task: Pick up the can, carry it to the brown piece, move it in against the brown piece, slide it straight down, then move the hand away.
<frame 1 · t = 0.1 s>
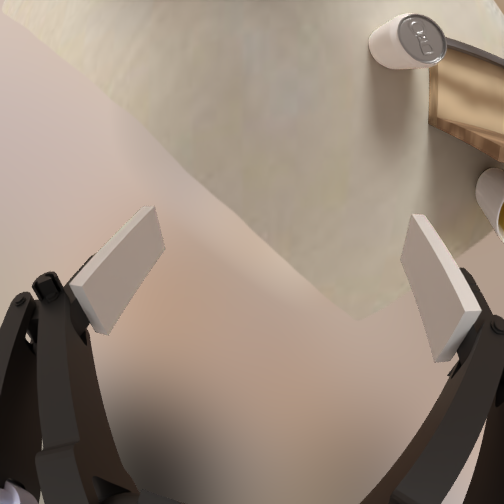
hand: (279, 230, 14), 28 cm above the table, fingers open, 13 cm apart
can: (389, 48, 27), on the table
mug: (490, 193, 34), on the table
brown piece: (486, 97, 26), on the table
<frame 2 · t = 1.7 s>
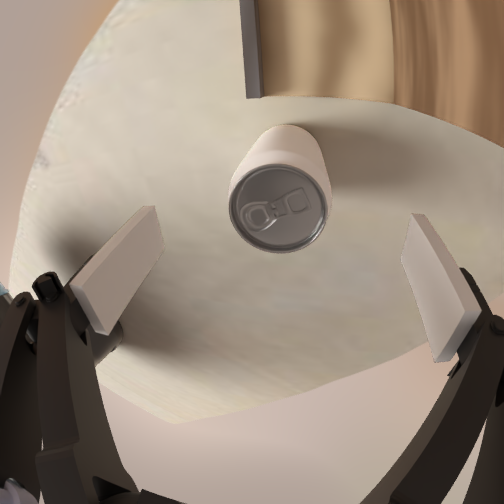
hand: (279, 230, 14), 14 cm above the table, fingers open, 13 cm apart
can: (287, 156, 26), on the table
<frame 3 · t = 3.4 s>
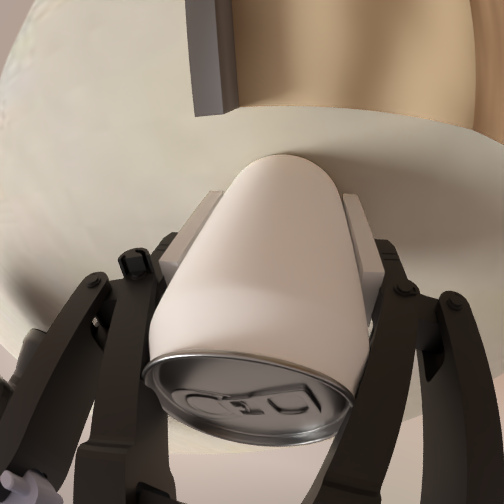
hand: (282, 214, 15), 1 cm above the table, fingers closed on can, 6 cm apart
can: (284, 205, 16), on the table, touching gripper
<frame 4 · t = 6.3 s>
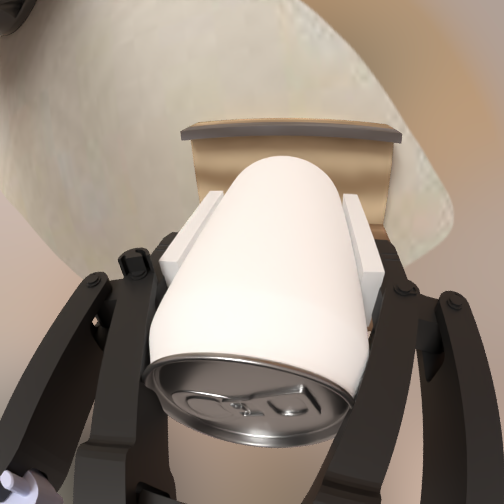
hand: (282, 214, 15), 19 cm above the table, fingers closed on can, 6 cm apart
can: (284, 206, 16), point 18 cm above the table, touching gripper
brown piece: (293, 171, 33), on the table
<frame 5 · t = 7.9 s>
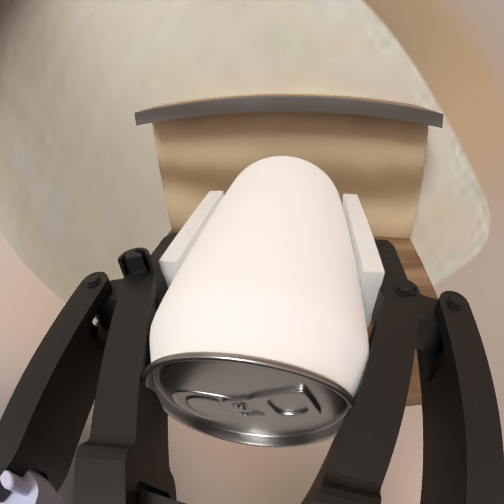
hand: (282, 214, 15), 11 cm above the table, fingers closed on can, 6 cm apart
can: (284, 206, 16), point 9 cm above the table, touching gripper
brown piece: (291, 166, 24), on the table
when the fingers open (6 cm above the table, at t = 9.2 s): can drops 2 cm, resting on brown piece.
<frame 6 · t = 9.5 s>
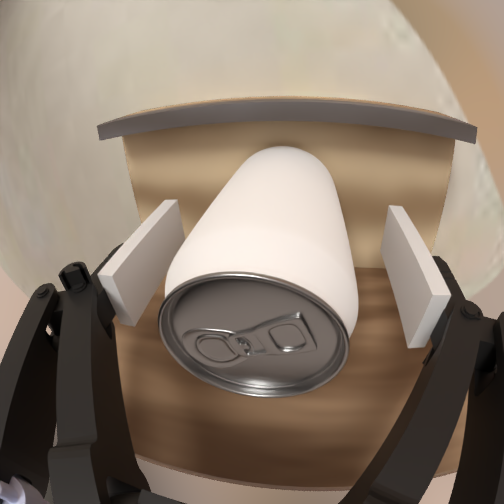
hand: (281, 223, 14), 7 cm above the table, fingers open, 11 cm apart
can: (284, 193, 18), point 3 cm above the table, touching brown piece
brown piece: (288, 184, 20), on the table
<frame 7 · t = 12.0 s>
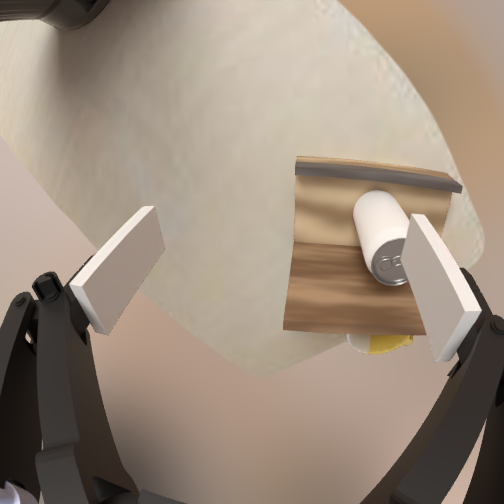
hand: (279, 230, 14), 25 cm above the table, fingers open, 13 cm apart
can: (375, 211, 35), point 3 cm above the table, touching brown piece
mug: (376, 293, 46), on the table
brown piece: (371, 206, 38), on the table
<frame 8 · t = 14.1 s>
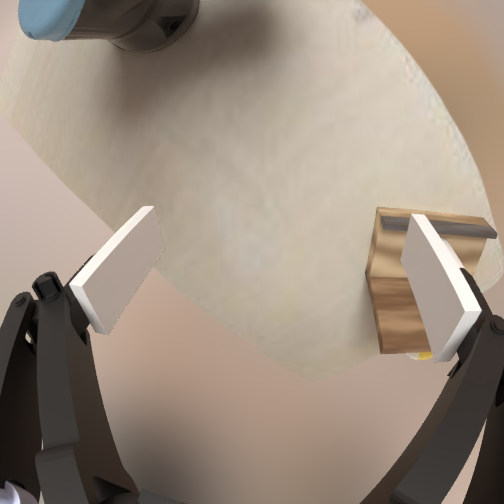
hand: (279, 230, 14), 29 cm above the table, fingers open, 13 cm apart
brown piece: (427, 245, 43), on the table
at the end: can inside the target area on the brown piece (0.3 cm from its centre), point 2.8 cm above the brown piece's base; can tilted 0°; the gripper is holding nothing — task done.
